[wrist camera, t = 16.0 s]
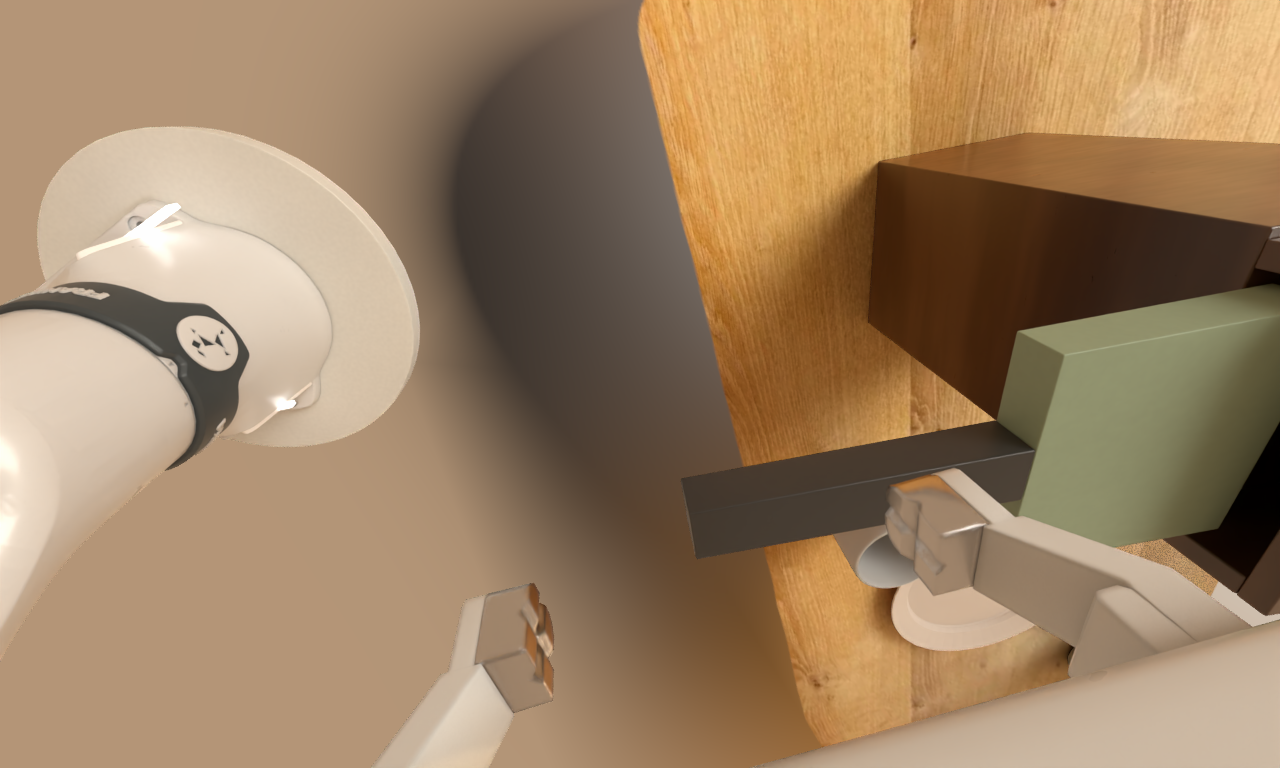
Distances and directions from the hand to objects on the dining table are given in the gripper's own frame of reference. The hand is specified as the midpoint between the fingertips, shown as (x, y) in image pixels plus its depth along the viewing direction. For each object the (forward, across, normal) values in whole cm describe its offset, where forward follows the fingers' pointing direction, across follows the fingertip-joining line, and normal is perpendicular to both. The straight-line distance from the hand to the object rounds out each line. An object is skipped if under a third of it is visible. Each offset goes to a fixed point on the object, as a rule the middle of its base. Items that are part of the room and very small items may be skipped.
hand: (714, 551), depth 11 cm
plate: (+31, -38, +54) cm, 73 cm away
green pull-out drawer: (+7, -11, +6) cm, 14 cm away
